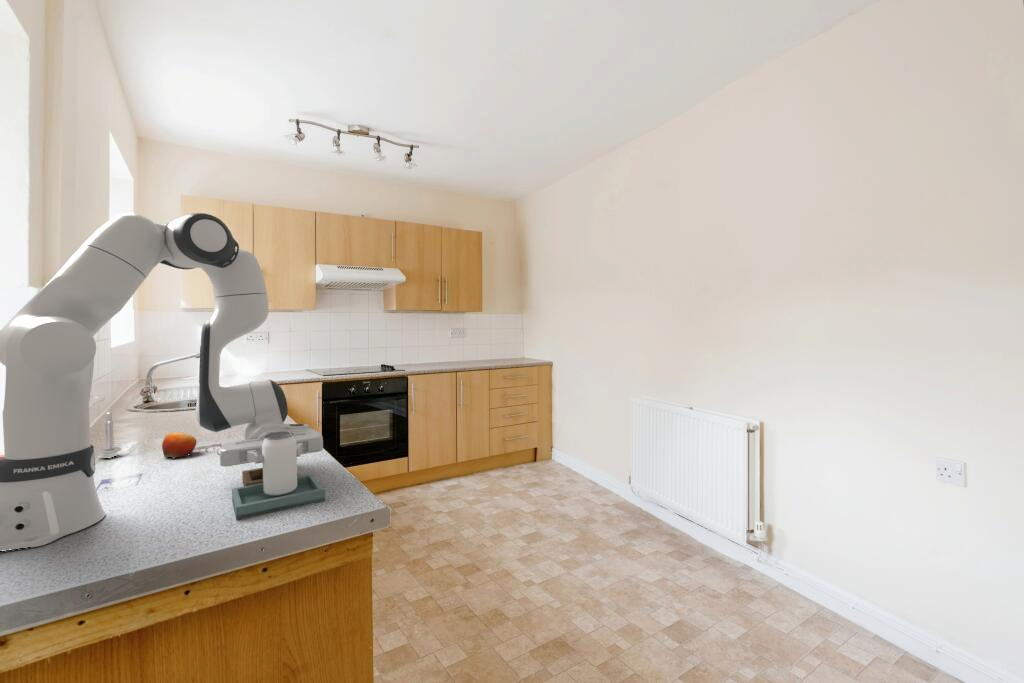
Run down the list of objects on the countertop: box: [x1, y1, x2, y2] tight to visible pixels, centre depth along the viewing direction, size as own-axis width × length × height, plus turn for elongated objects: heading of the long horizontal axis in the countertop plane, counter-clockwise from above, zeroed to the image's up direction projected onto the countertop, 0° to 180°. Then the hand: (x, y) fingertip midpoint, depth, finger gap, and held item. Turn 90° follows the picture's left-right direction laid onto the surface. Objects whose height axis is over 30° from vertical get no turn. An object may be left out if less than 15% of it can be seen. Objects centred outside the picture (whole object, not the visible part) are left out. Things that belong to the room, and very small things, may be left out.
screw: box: [98, 411, 122, 458], centre depth 127 cm, size 13×5×5 cm
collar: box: [241, 467, 299, 487], centre depth 106 cm, size 10×10×2 cm
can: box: [262, 432, 298, 496], centre depth 95 cm, size 6×6×12 cm
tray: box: [231, 473, 326, 521], centre depth 95 cm, size 16×12×2 cm
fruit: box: [161, 431, 197, 460], centre depth 128 cm, size 8×8×8 cm
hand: (278, 456), depth 94 cm, fingers closed on can, 6 cm apart
